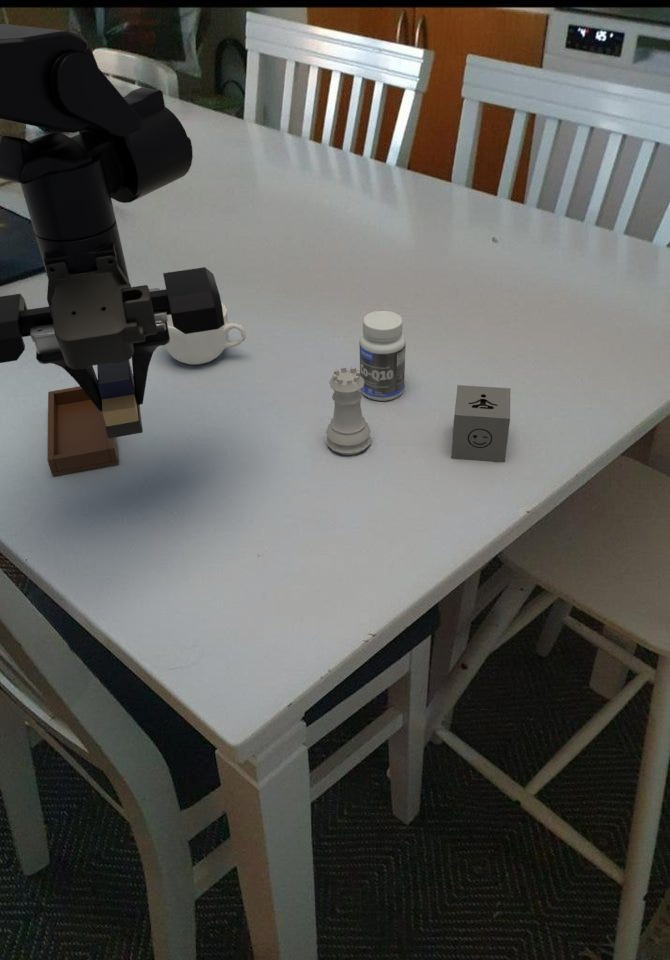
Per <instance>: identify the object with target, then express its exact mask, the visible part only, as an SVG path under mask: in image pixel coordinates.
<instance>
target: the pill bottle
mask: <svg viewBox="0 0 670 960" xmlns="http://www.w3.org/2000/svg"><path fill="white" fill-rule="evenodd" d="M403 322H404V321H403V318H402V316H401V315H400V314H398V313H396V312H393V311H389V310H375V311H373V312H370V313H368V314H366V315H365V316H364V317H363V320H362V333H361V335H360V338H359V344H358V346H359V372H360V376H361V377H362V378H363V380H364V385H363V387H362V388H361V389H360V392H361V394H362V395H363V396H365V397H366V398H367V399H370V400H374V401H379V402H386V401H387V402H388V401H391V400H394V399H397V398H399V397H400V396H401V395H402V394H403V393H404V390H405V378H406V377H405V376H406V375H405V374H406V348H407V347H406V345H407V341H406V336H405V335H404V334H403V330H404V329H403V325H404V323H403Z"/></svg>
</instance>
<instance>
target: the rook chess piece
mask: <svg viewBox="0 0 670 960" xmlns="http://www.w3.org/2000/svg"><path fill="white" fill-rule="evenodd" d="M349 369H350V370H347V366H340V370H339V369H338V368H336V369H335V370H333V374H332V377H331V378H330V379H329V381H328V384H329V387H330V388H331V390H333V391H334V392H333V393H332V400H333V401H334V409H333V417H332V418H330V419H331V420H330V422H329V424H328V426H327V429H326V432H325V434H326V438H325V442H326V445H327V447H329V448H330V449H331V450H332V451H333V452H334V453H337V454H338V455H339V454H340V455H343V456H352V455H358V454H360V453H362V452H364V450H366V449H367V448H368V447H369V446H370V444H371V443H372V436H371V428H370V426H369V424H368V422H367V421H366V418H365V417H364V416H363V412H362V407H361V400H362V398H363V393H362V392H361V388H362V387H363V385H364V380H363V378H362V377H361V376H360V370H357V368H356V367H353V366H351V367H350V368H349Z"/></svg>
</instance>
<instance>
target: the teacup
mask: <svg viewBox="0 0 670 960" xmlns="http://www.w3.org/2000/svg"><path fill="white" fill-rule="evenodd" d="M221 304H222V310H223V317H224V324H225V325H223V326H222V327H220V328H219V329H215V330H209V331H203V332H196V333H190V334H184V333H183V332H181V331H179V330H178V329H176V328H175V327H173V322H172V317H171V315H167V319H168V321H167V326H168V331H169V336H170V341H169V343H168V344H166V345H163V346H164V347H165V350H166V351H167V353H168V354H169V355H170V357H172V358H173V359H174V360H176V361H177V362H180V363H183V364H186V365H191V366H198V365H205V364H207V363H210V362H212V361H213V360H215V359H217V358H218V357H219V356H220V355H221V354H222V353H223V352H224V350H225V349H229V348H230V349H231V348H234V347H237V346H239V345H241V344H243V342H245V341H246V339H247V333H246V330H245V328H244V327H243V326H242V325H241V324H239V323H236V322H229V318H228V310H227V306H225V303H223V302H221ZM233 329H236V330H238V331H239V332H240V335H241V338H240V339H239V340H230V339H229V333H230V331H231V330H233Z"/></svg>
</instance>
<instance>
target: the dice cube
mask: <svg viewBox="0 0 670 960" xmlns="http://www.w3.org/2000/svg"><path fill="white" fill-rule="evenodd" d="M511 389H512V388H509V387H494V386H481V385H480V386H479V385H478V386H477V385H464V384H463V385H462V384H457V387H456V397H455V406H454V415H453V416H454V417H453V429H452V440H451V441H452V443H451V455H450V457H451V459H459V460H460V459H461V460H472V461H485V462H486V461H487V462H498V463H499V462H500V463H505V462H506V455H507V446H508V438H509V431H510V424H511V423H510V422H511Z"/></svg>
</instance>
